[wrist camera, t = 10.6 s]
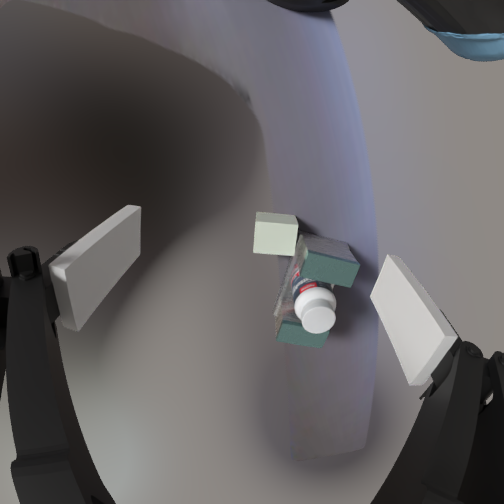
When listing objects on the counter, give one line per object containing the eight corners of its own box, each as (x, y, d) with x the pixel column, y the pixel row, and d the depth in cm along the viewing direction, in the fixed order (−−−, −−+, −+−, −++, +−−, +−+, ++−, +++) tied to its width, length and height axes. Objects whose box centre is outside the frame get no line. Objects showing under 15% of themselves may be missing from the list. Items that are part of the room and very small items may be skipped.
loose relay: (256, 211, 36) (255, 221, 33) (294, 215, 36) (298, 225, 33) (254, 240, 38) (253, 252, 34) (291, 243, 38) (294, 256, 34)
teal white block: (298, 230, 37) (306, 252, 31) (346, 242, 38) (362, 265, 31) (272, 309, 42) (274, 340, 36) (315, 317, 43) (323, 348, 36)
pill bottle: (309, 257, 38) (321, 293, 29) (334, 279, 39) (350, 317, 31) (282, 283, 39) (287, 323, 31) (308, 303, 41) (317, 344, 32)
